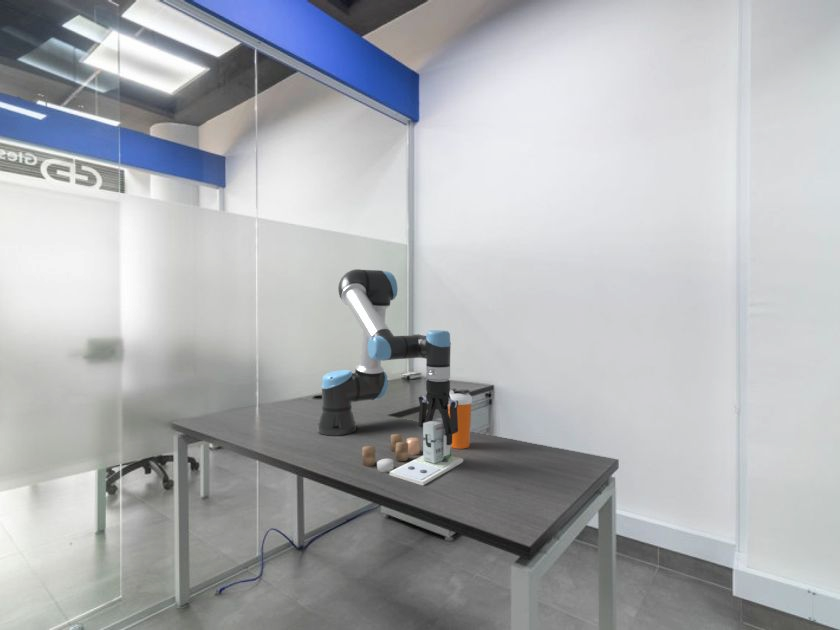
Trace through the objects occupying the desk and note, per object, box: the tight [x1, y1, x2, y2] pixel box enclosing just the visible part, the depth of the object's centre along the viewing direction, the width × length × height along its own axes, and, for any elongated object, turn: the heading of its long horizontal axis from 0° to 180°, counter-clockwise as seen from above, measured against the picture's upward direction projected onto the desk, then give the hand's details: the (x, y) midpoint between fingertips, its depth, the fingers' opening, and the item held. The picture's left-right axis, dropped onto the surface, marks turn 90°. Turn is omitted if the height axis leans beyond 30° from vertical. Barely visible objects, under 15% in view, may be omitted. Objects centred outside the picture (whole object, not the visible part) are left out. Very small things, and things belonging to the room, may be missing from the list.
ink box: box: [422, 417, 452, 464], centre depth 131 cm, size 9×5×12 cm, turn 137°
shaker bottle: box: [448, 388, 473, 450], centre depth 148 cm, size 9×9×20 cm
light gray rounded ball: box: [376, 458, 395, 473], centre depth 126 cm, size 5×5×2 cm
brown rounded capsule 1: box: [390, 433, 403, 453], centre depth 143 cm, size 4×4×5 cm
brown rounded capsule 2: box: [394, 441, 409, 462], centre depth 134 cm, size 4×4×5 cm
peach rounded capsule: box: [406, 436, 421, 456], centre depth 140 cm, size 4×4×4 cm
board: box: [389, 455, 464, 486], centre depth 127 cm, size 12×22×1 cm, turn 144°
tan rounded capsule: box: [361, 445, 376, 467], centre depth 130 cm, size 4×4×5 cm
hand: (437, 452), depth 131 cm, fingers open, 6 cm apart
